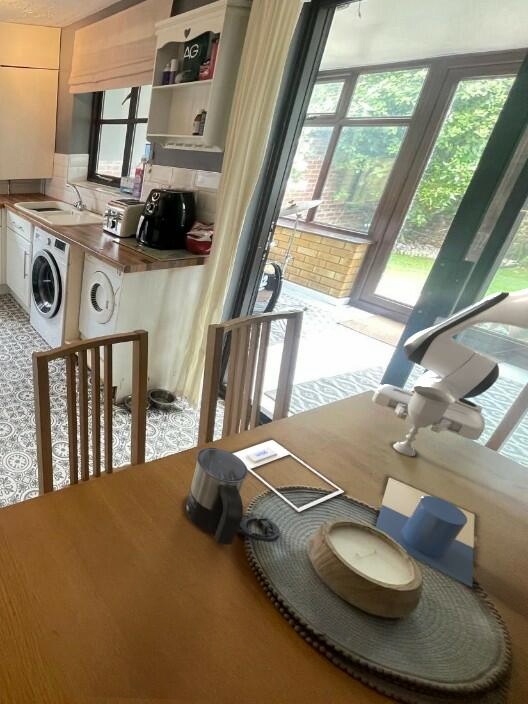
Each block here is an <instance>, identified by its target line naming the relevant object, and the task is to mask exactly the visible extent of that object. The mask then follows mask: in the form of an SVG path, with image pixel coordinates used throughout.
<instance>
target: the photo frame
mask: <svg viewBox="0 0 528 704" xmlns="http://www.w3.org/2000/svg"><path fill="white" fill-rule="evenodd" d="M232 454H234V455H235V456H237V457H238V458H239V459H241V460H242V461H243V462H244V464H245V465H246V467H247V469H248V472H250V473H251V474H252V475H253V476H255V477H256V478H257V479H258V480H259V481H261V482H262V483H263V484H264V485H266V486H267V487H268V489H270V490H272V491H273V492H274V493H275V494H276V495H278V496H279V497H280V498H281V499H283V501H285V502H286V503H287V504H288V505H289V506H290V507H292V508H293V509H294V510H296V512H297V513H300V512H302V511H305V510H307V509H308V508H311V507H314V506H316V505H318V504H320V503H322V502H325V501H327V500H329V499H331V498H334V497H337V496H338V495H340V494H343V493H345V490H344V489H342V488H340V487H339V486H337V485H336V484H335V483H333V482H331V481H330V479H327V477H325V476H323V475H322V474H320V473H319V472H318V471H316V470H315V469H314V468H313V467H311V466H310V465H308V464H307V463H306V462H304V461H303V460H302V459H300V458H298V456H295V455H294V454H293V453H292V452H290V451H289V450H287V449H286V448H285V447H284V446H282V445H280V444H279V443H278V442H276V441H275V440H273V439H271V440H268V441H264V442H262V443H259V444H256V445H253V446H250V447H247V448H244V449H242V450H239V451H236V452H232ZM289 455H290V457H292V458H294V459H295V460H296V461H298V462H299V463H301V464H302V465H303V466H304V467H306V468H307V469H309V470H310V471H312V472H313V473H314V474H316V475H317V476H318V477H319V478H321V479H323V480H324V481H325V482H326V483H328V484H330V485H331V486H332V487H333V488H336V489H337V491H334V492H332V493H329V494H327V495H325V496H323V497H320V498H318V499H316V500H313V501H311V502H309V503H307V504H305V505H302V506H300V507H297V506H296V505H294V504H293V503H292V502H291V501H290V500H289V499H287V498H286V497H285V496H284V495H282V494H281V493H280V492H279V491H278V490H276V488H274V486H272V485H271V484H270V483H268V482H267V481H266V480H264V479H263V478H262V477H261V476H260V475H258V473H256V472H255V471H253V470H252V469H254V468H258V467H259V466H262V465H265V464H267V463H270V462H274V461H276V460H278V459H282V458H283V457H287V456H289Z"/></svg>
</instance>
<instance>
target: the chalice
mask: <svg viewBox="0 0 528 704" xmlns="http://www.w3.org/2000/svg"><path fill="white" fill-rule="evenodd" d="M453 402H455V398H454V397H452V396H451V395H450V394H448V393H446V392H444V391H441V390H438V389H435V388H432V387H427V386H415V387H414V395H413V397H412V399H411V400H410V402H409V404H408V414H409V416H408V417H409V422H410V424H412V426H413V427H412V428H411V429H409V434H407V435H405V437H406V440H405V441H397V442H396V443H394V444H393V449H395V450H396V451H397V452H398V453H401V454H402V455H406V456H409V457H413V456H416V454H417V453H416V449H415V447H414V446H413V445H412V442H413V441H415V440H416V437H415V436H416V435H418V434H419V429H420V428H421V429H423V428H424V429H425V428H427V427H429V426H431V424H433V423H435V422H436V421H438V420H439V419H441V418H442V417H443V415H444V413H445V411H446V410H447V408H448V406H449V404H451V403H453Z"/></svg>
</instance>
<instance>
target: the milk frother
mask: <svg viewBox="0 0 528 704" xmlns="http://www.w3.org/2000/svg"><path fill="white" fill-rule="evenodd" d="M248 475H249V470H248V469H247V467H246V465H245V464H244V462H243V461H242V460H241V459H239V458H238V457H237V456H235V455H234V454H233V452H230V451H227V450H226V449H221V448H217V447H207V448H203V449H201V450H199V451H198V453H197V454H196V465H195V468H194V473H193V476H192V477H193V478H192V482H191V486H190V490H189V494H188V498H187V501H186V504H185V511H186V514H187V516H188V518H189V519H190V520H191V522H193V523H194V525H196V526H197V527H199V528H200V529H202V530H205V531H207V532H210V533H215V536H214V540H215V541H216V543H217V544H218V545H219V544H220V545H226V546H229V545H232V544H233V541H234V540H235V538H236V535H237V534H239V535H242V536H244V537H246V538H249V539H251V540H255V541H257V542H258V541H259V542H263V543H264V542H265V543H273V542H275V541H277V540H279V538H280V536H281V530H280V528H279V526H278V525H277V524H275V523H274V522H273V521H271V520H270V519H268V518H267V517H263V516H262V517H261V516H260V515H250V516H249V515H248V516H245V517H244V505H243V503H244V502H243V499H242V496H241V491H242V487H243V484H244V482H245V480H246V479H247V478H248ZM253 521H256V522H257V523H256V526H257V527H259V528H260V529H261V531H262V532H263V533H264V534H259V533H256V532H253V531H252V530H250V529H249V528H248V527H247V525H248V524H249V523H250V522H253Z"/></svg>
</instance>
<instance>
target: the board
mask: <svg viewBox="0 0 528 704" xmlns="http://www.w3.org/2000/svg"><path fill="white" fill-rule="evenodd" d="M424 496H432V495H430V494H428V493H426V492H424V491H422V490H420V489H417V488H414V487H412V486H410V485H408V484H405V483H403V482H401V481H398V480H397V479H394V478H392V477H388V481H387V484H386V487H385V490H384V495H383V499H382V502H381V507H380V510H379V515H378V518H377V522H376V526H375V529H376V528H377V529H379V530H381V531H383V532H385V533H386V534H388V535H389V536H390V537H392V538H393V539H394V540H395V541H396V542H397V543H399V544H400V545H401V546H402V547H403V549H405V550H406V551H407V553H408V554H407V553H406V554H407V555H408V556H411V557H413V558H415V559H416V560H419V561H421V562H422V563H424V564H427V565H428V566H430V567H432V568H434V569H435V570H438V571H440V572H442V573H443V574H445V575H448V576H449V577H451V578H453V579H455V580H457V581H459V582H461V583H463V584H465V585H467V586H469V587H471V588H473V580H474V579H473V578H474V548H475V516H476V515H475V514H474V513H472V512H470V511H467V510H465V509H463V508H460V507H458V506H456V507H457V508H459V509H460V510H461V511H462V512H463V513H464V514H465V515H466V517H467V523H466V524H465V526H464V527H463V529H462V530H461V532H460V533H459V535H458V536H457V537H456V539H455V540H454V542H453V543H452V545H451V546H450V548H449V549H448V551H447V552H446V554H445V555H444V556H442V557H432V556H429V555H426V554H424V553H421V552H420V551H418V550H416V549H415V548H413V547H412V546H411V545H409V544H408V543H407V542H406V541H405V539H404V538H403V536H402V529H403V528H404V526H405V524H406V523H407V521H408V519H409V518H410V516H411V514H412V512H413V511H414V509H415V507H416V506H417V504H418V502H419V501H420V499H421V498H422V497H424Z"/></svg>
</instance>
